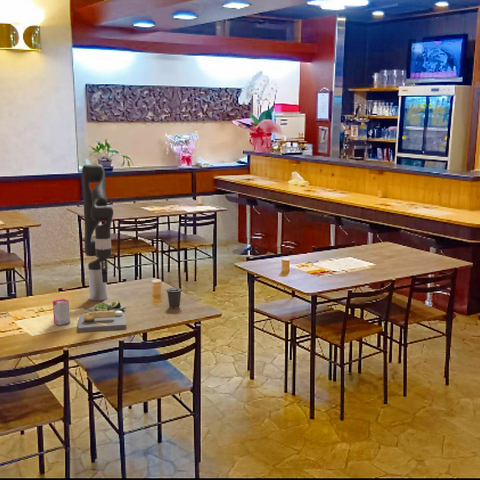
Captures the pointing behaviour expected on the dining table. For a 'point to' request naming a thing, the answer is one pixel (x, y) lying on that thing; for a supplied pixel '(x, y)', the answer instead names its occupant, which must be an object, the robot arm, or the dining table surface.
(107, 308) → the salad plate
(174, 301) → the coffee cup
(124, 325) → the base
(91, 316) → the tan elongated block
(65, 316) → the supplement box
